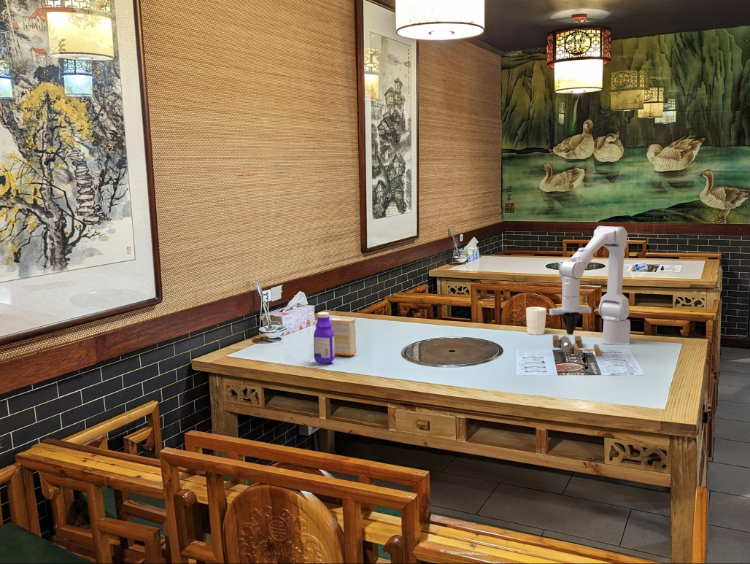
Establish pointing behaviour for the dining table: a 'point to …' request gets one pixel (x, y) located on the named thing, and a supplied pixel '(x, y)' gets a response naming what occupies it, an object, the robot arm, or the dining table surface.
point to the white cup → (535, 320)
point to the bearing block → (556, 341)
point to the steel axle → (566, 345)
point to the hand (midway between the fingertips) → (569, 334)
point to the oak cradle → (596, 349)
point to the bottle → (324, 339)
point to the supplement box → (344, 335)
